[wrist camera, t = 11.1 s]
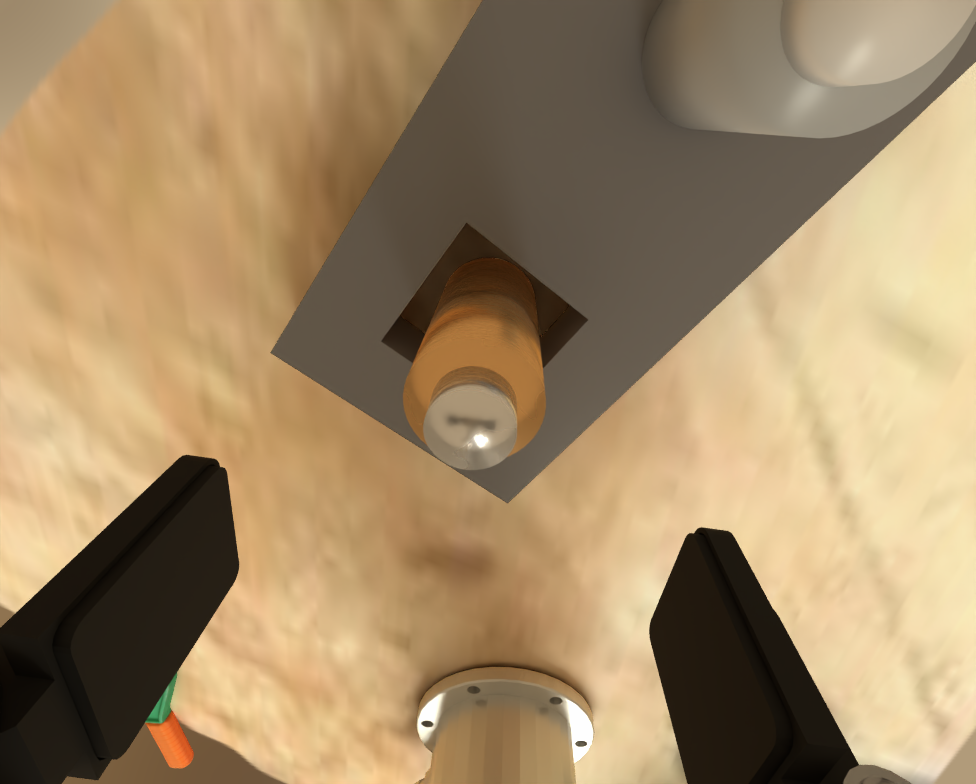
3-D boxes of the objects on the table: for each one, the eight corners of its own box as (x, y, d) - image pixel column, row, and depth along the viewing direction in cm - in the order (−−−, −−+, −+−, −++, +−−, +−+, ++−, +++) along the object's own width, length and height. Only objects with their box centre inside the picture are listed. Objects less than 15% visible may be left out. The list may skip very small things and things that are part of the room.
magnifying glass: (79, 626, 35) (59, 648, 33) (162, 629, 34) (145, 652, 33) (154, 743, 42) (141, 766, 41) (223, 747, 42) (212, 771, 40)
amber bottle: (497, 363, 23) (485, 516, 14) (424, 311, 22) (362, 441, 13) (555, 296, 21) (582, 422, 12) (479, 237, 20) (451, 329, 11)
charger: (508, 463, 26) (502, 673, 16) (299, 325, 22) (134, 481, 13) (926, 48, 16) (1497, -47, 7) (671, -279, 13) (1060, -1284, 4)
